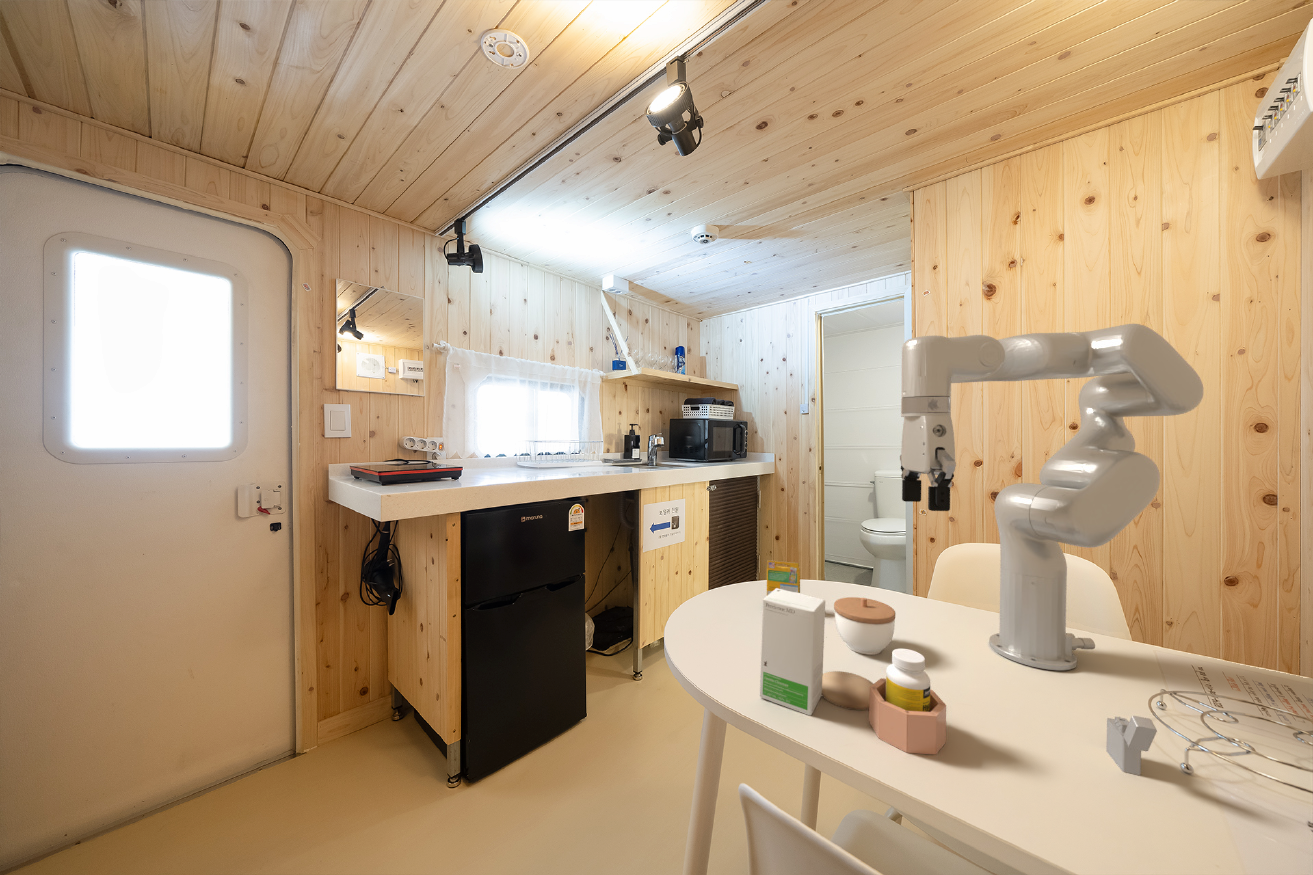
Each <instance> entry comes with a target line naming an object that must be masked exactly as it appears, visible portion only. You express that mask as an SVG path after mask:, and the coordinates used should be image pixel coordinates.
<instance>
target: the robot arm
mask: <svg viewBox="0 0 1313 875" xmlns="http://www.w3.org/2000/svg"><path fill="white" fill-rule="evenodd" d="M901 348H902V349H901V406H900V407H901V408H900V409H901V410H900V411H901V413H900V415H901V417H902V418H903V424H902V433H901V450H900V451H901V452H900V456H899V460H900V471H901V475H900V477H901V479H902V480H901V485H902V486H901V500H902V501H903V502H906V503H907V502H910V503H912V502H913V503H915V502H916V503H919V502H921V501H922V480H921V479H920V477H921V476H922V474H923V475H927V478H928V481H929V483H930V485H928V488H927V489H928V490H927V491H928V496H927V500H928V501H927V509H928V510H929V511H931V512H950V510H951V488H952V486H953V479H954V478H955V474H954V473H955V472H956V468H957V467H956V466H957V462H956V446H955V433H954V431H955V430H954V426H953V420H952V384H960V383H961V384H962V383H964V384H965V383H979V382H980V383H981V382H1022V381H1041V380H1042V381H1044V380H1057V379H1058V380H1059V379H1061V380H1063V379H1064V380H1065V379H1083V378H1084V379H1085V378H1092V379H1089V380H1088V381H1087V382H1085V383H1084V385H1082V387H1081V388H1080V391H1079V393H1078V400H1077V401H1078V408H1079V414H1080V416H1079V417H1080V428H1079V430H1078V432H1077V433H1076V434H1075V435H1073V436H1072V438H1071V439H1070V440H1068V441H1067V442H1066V443H1065V444H1064V445H1063V446H1062V447H1060V449H1058V450H1057V451H1056V452H1055V453H1054V454H1053V455H1052V456H1050V457H1049V459H1048V460H1046V462H1045V463H1044V464H1043V465H1042V467H1041V468H1040V471H1039V474H1038V475H1039V477H1038V478H1039V482H1040V483H1028V482H1022V483H1014V484H1010V485H1007V486H1006V487H1004V488H1002V489H1001V490H1000V491H999V492H998V493H997V495H996V498H995V500H994V506H993V508H994V515H995V516H994V517H995V521H996V525H997V530H998V535H999V536H998V537H999V545H1000V560H999V561H1000V563H999V565H1000V569H999V572H1000V573H999V577H1000V578H999V580H1000V581H999V584H1000V585H999V632H998V633H994V634H992V635H990V636H989V638H988V640H989V642H988V644H989V647H991V649H992V650H993V651H994V652H995V653H997V654H998V655H1000V656H1002V657H1005V659H1006V658H1007V659H1009V660H1011V661H1013V662H1016V663H1019V664H1021V665H1026V666H1029V667H1033V668H1037V669H1041V670H1042V669H1043V670H1047V671H1049V670H1050V671H1069V670H1072V669H1074V668H1075V669H1076V667H1077V665H1078V658H1077V656H1076V655H1075V653H1073V651H1076V650H1077V649H1081V650H1095V648H1096V644H1095V641H1094V640H1093V639H1092V638H1090V637H1076V636H1075V635H1074V634H1073V633H1071V632H1067V630H1066V629H1067V627H1066V626H1067V582H1068V581H1067V576H1068V566H1067V565H1068V564H1067V561H1066V556H1065V553H1064V552H1063V549H1062V548H1061V545H1060V543H1062V544H1065V545H1066V544H1067V545H1070V546H1076V547H1080V548H1085V549H1086V548H1087V549H1088V548H1097V547H1101V546H1103V545H1105V544H1108V543H1109V542H1110V541H1111V540H1113V539H1114V538H1115V537H1116V536H1118V535H1119V534H1120V532H1121V531H1123V530H1124V529H1125V528H1126V527H1127V526H1128V525H1129V524H1131V523H1132V521H1133V520H1134V519H1136V517H1137V516H1138V515H1140V514H1141V513H1142V512H1143V511H1144V510H1145V509H1146V508H1147V507H1148V506H1149V505H1150V504H1151V502H1152V501H1153V500H1154V498H1155V497H1156V495H1157V492H1158V491H1159V488H1160V482H1161V473H1160V470H1159V467H1158V466H1157V464H1156V463H1155V461H1154V460H1153V459H1151V458H1150V457H1149V456H1147V455H1145V454H1143V453H1141V452H1138V451H1135V449H1136V441H1135V438H1134V436H1133V434H1132V432H1131V431H1130V430H1129V429H1128V428H1127V426H1126V424H1125V420H1124V417H1125V418H1128V417H1132V418H1133V417H1169V416H1170V417H1171V416H1172V417H1173V416H1179V415H1184V414H1186V413H1189V412H1191V411H1193V410H1194V409H1195V408H1197V407H1198V406H1199V405H1200V403H1201V402H1202V400H1203V398H1204V385H1203V381H1202V379H1201V377H1200V376H1199V374H1198V372H1196V370H1195V369H1194V368H1193V367H1192V365H1191V364H1189V362H1188V361H1187V360H1186V359H1185V358H1184V357H1183V356H1182V355H1181V354H1180V353H1179V352H1178V351H1177V350H1176V348H1174V347H1173V345H1171V344H1170V342H1168V341H1167V340H1166V339H1165V338H1164V337H1163V336H1162V335H1160V334H1159V333H1158V332H1156V331H1154V330H1153V329H1152V328H1150V327H1148V326H1146V325H1143V324H1140V323H1127V324H1120V325H1116V326H1110V327H1106V328H1100V329H1094V330H1087V331H1077V332H1076V331H1075V332H1073V331H1072V332H1070V331H1069V332H1035V333H1034V332H1032V333H1025V334H1019V335H1014V336H1009V337H1004V338H1000V339H999V338H998V339H996V338H995V337H992V336H989V335H984V334H973V335H965V336H954V337H953V336H952V337H948V336H945V335H923V336H922V335H921V336H917V337H916V336H915V337H912V338H910V339H908V340H906V341H905V342H904V343H903V344H902V347H901Z"/></svg>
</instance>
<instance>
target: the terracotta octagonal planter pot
mask: <svg viewBox="0 0 1313 875" xmlns="http://www.w3.org/2000/svg"><path fill="white" fill-rule="evenodd" d="M868 710H869V711H868V713H869V714H868V715H869V716H868V717H869V718H868V722H869V724H870V725H871V727H872V729H873V731H874V733H875V734H876V736H877V737H878V739H880V741H883V742H885V743H887V744H889V745H891V746H893V747H895V748H896V749H899V750H901V751H902V752H905V753H906V754H921V755H923V754H924V755H934V756H935V755H937V754H938V753H939V751H940V750H941V749H942V748H943V746H944V745H945V744H946V743H947V704H946V703H945V702H944V701H943V700H942V698H941V697H940V696H939V695H938V694H937V693H936V692H935V691H934V690H933V689H931V688H930V712H920V711H906V710H904V709H902V708H900V707H897V706H895V705H893V704H891V703H888V702H886V678H884V677H883V678H881V677H880V678H879V679H878V680H876V681H875V682H874V683H873V685H871V686H870V688H869V709H868Z"/></svg>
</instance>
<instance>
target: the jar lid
mask: <svg viewBox="0 0 1313 875" xmlns="http://www.w3.org/2000/svg"><path fill="white" fill-rule="evenodd" d="M873 684H874V683H873V682H872V681H870V680H869V679H868V678H865V677H863V676H861V675H859V674H856V673H852V672H847V671H840V670H839V671H838V670H837V671H834V670H833V671H827V672H823V677H822V696H821V697H823V698H824V699H825V700H826V701H827V702H829V703H832V704H833V705H836V706H839V707H840V708H844V709H849V710H854V711H859V710H860V711H863V710H865V711H866V710H869V688H870V686H871V685H873Z"/></svg>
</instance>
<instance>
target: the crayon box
mask: <svg viewBox="0 0 1313 875" xmlns="http://www.w3.org/2000/svg"><path fill="white" fill-rule="evenodd" d="M766 563H767V564H766V596H768V595H769V594H770V593H771V592H772V591H773V590H775V589H776V588H778V589H782V590H786V591H790V592H797V593H801V568H800V563H799V562H789V561H781V560H780V561H779V560H772V559H771V560H768V559H767V560H766ZM782 564H783V565H785V566H779V565H782Z"/></svg>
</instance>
